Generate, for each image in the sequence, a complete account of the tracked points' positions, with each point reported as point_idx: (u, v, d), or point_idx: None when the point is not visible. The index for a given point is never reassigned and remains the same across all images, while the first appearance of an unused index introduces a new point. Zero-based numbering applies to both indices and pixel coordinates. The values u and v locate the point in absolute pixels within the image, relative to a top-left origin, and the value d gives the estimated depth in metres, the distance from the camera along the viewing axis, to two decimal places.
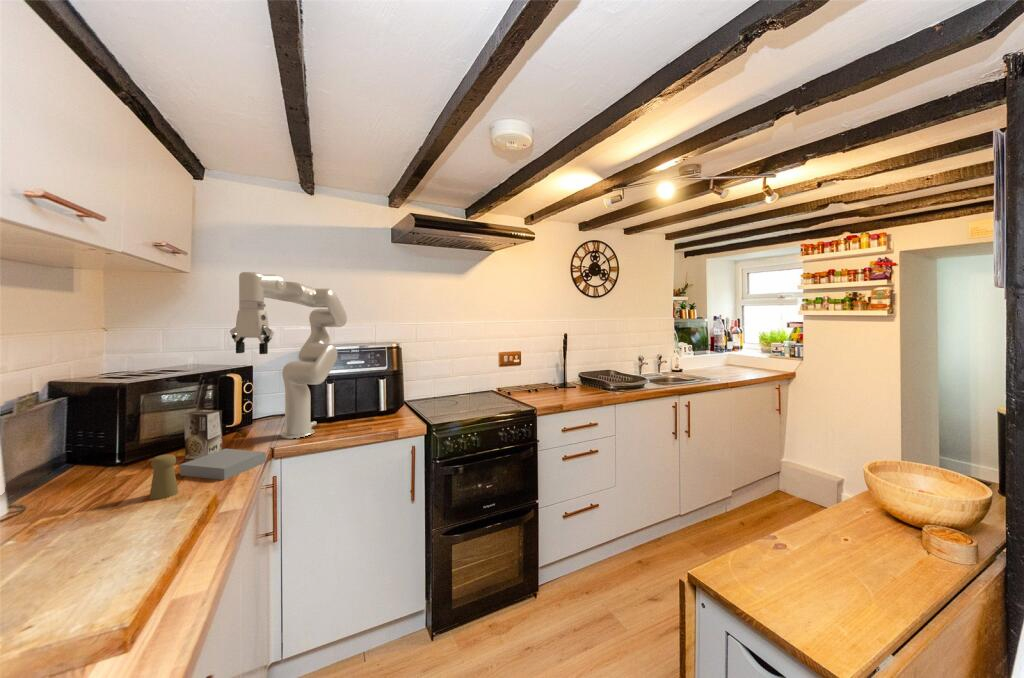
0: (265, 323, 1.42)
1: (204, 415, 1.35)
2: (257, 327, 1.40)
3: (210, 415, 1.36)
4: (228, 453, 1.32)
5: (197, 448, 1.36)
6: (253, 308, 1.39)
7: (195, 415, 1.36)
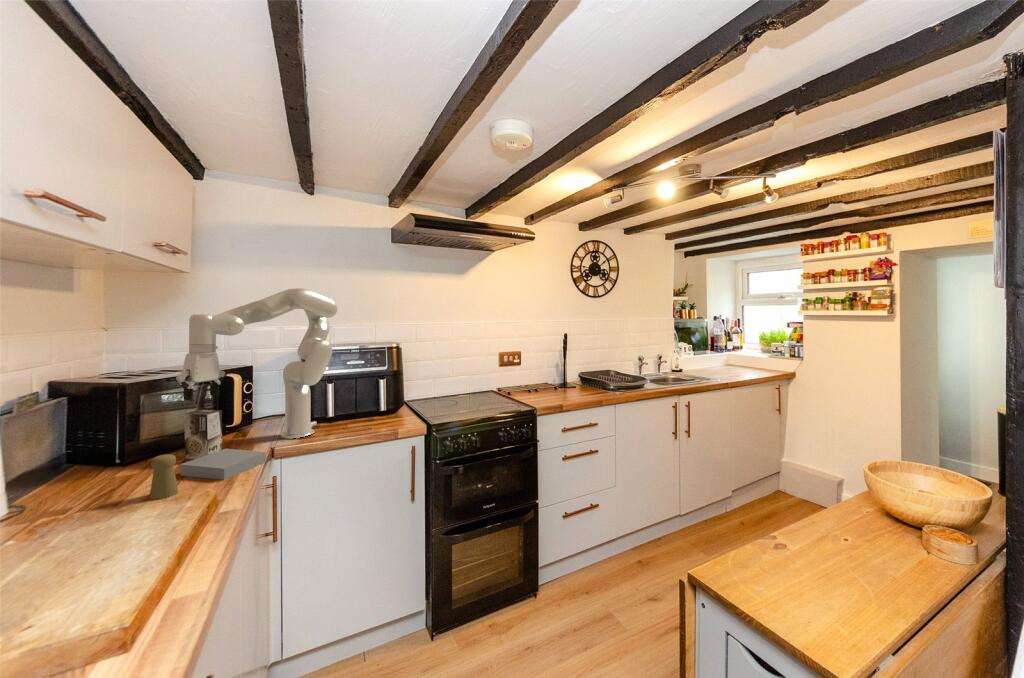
0: None
1: (204, 415, 1.35)
2: (218, 369, 1.42)
3: (210, 415, 1.36)
4: (228, 453, 1.32)
5: (197, 448, 1.36)
6: (215, 351, 1.40)
7: (195, 415, 1.36)
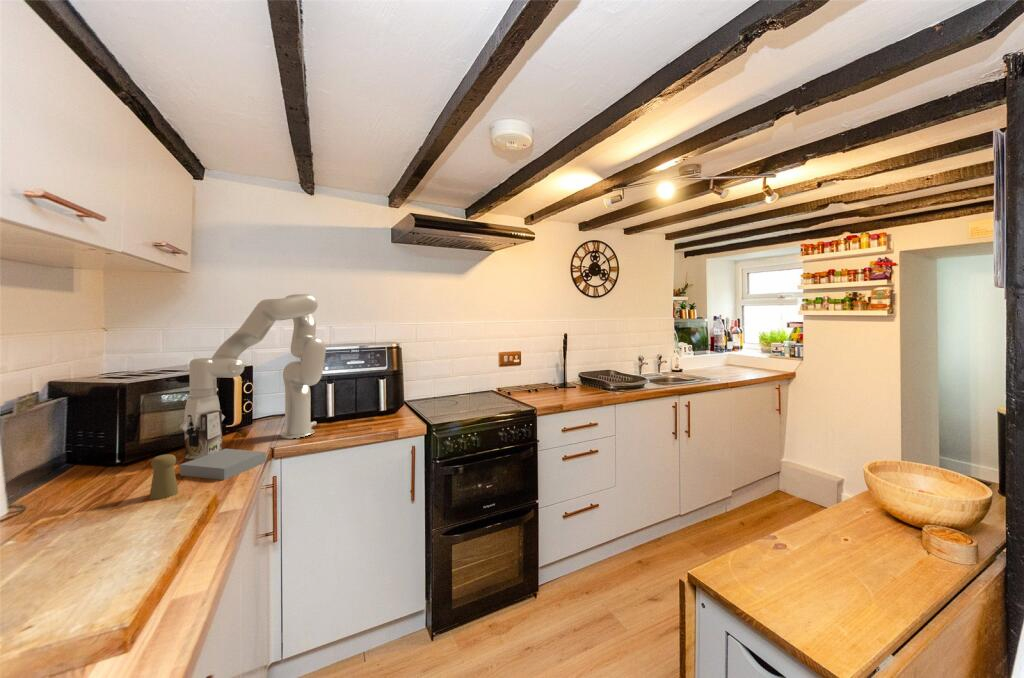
0: None
1: (204, 415, 1.35)
2: None
3: (210, 415, 1.36)
4: (228, 453, 1.32)
5: (197, 448, 1.36)
6: (216, 394, 1.41)
7: None
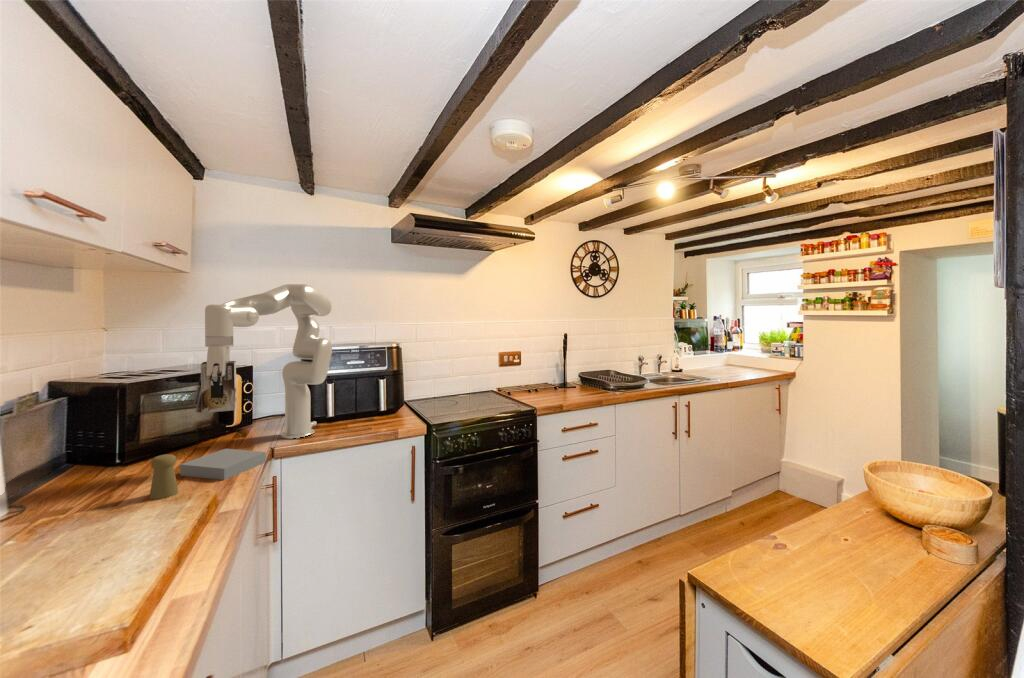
0: None
1: (230, 363, 1.29)
2: None
3: (234, 364, 1.30)
4: (228, 453, 1.32)
5: (221, 399, 1.28)
6: None
7: None
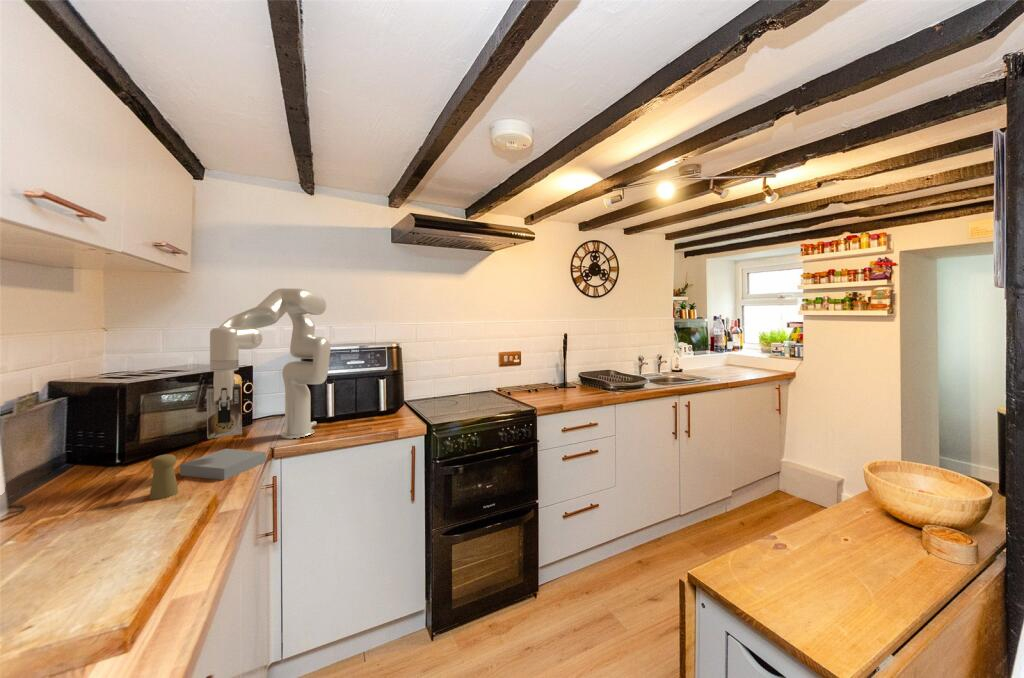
0: None
1: (237, 387, 1.27)
2: None
3: None
4: (228, 453, 1.32)
5: (227, 424, 1.26)
6: None
7: None
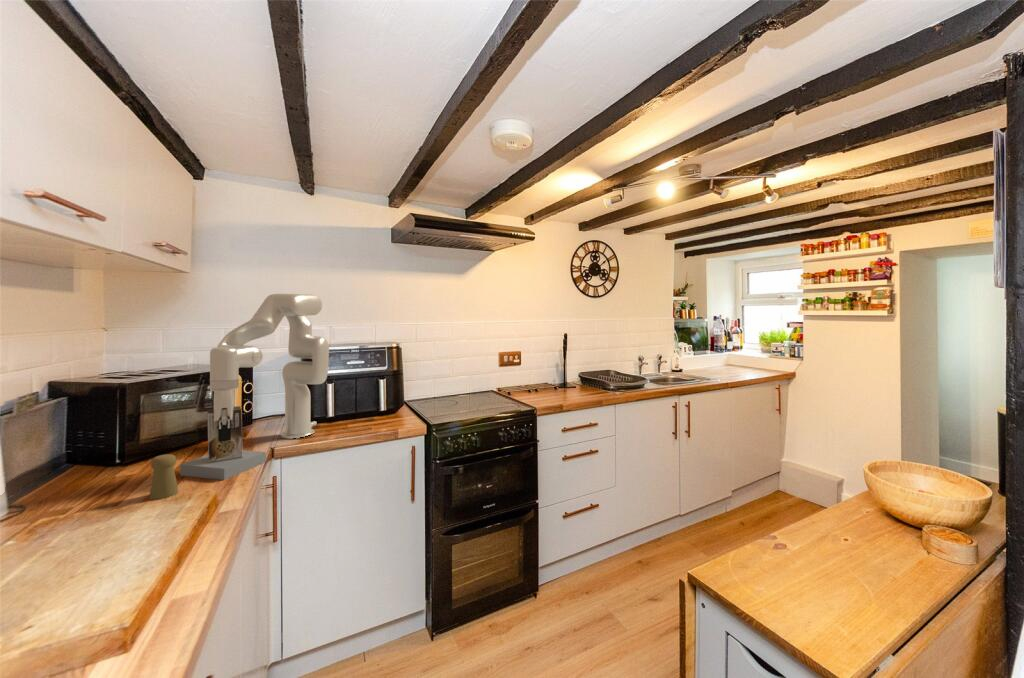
0: None
1: (237, 410, 1.28)
2: None
3: (241, 410, 1.29)
4: None
5: (228, 447, 1.26)
6: None
7: None
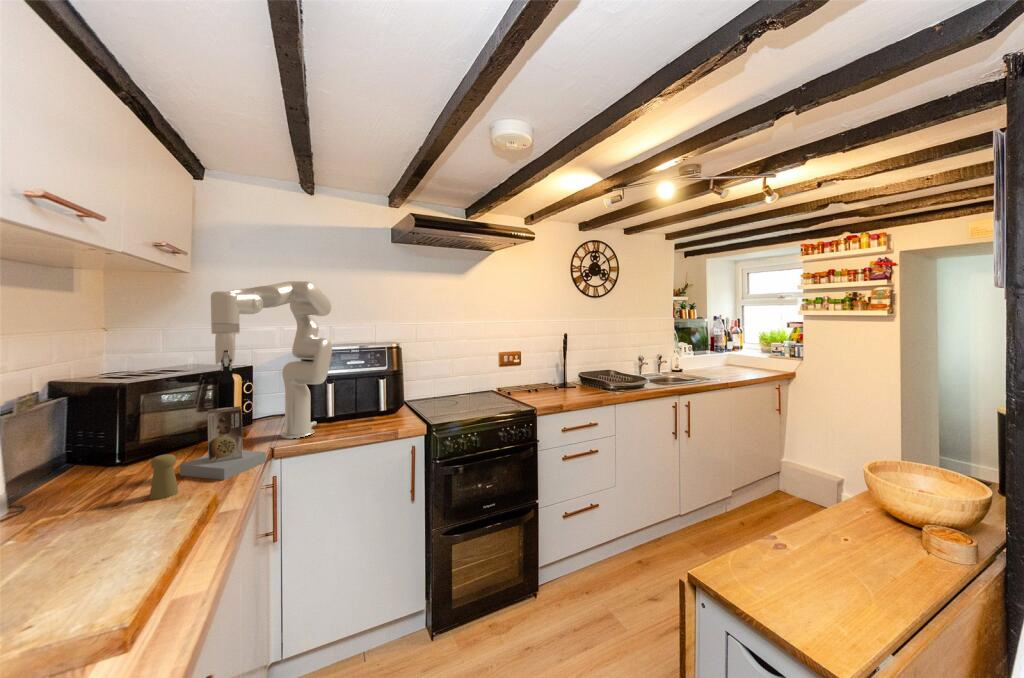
0: None
1: (237, 411, 1.28)
2: None
3: (241, 410, 1.29)
4: None
5: (228, 448, 1.26)
6: None
7: (225, 412, 1.26)
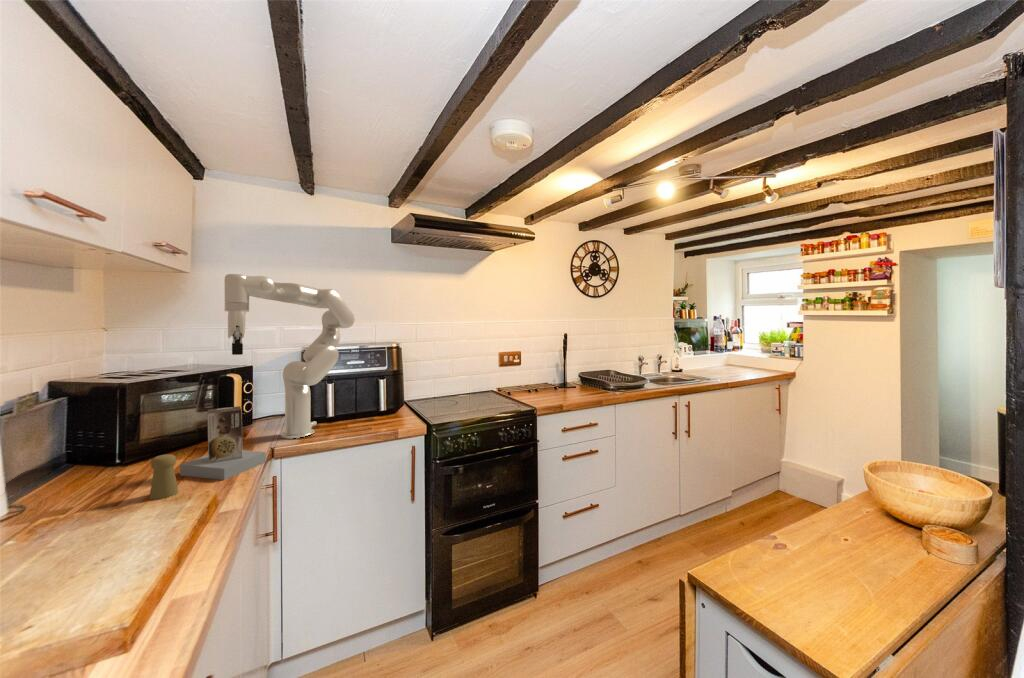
0: None
1: (237, 411, 1.28)
2: None
3: (241, 410, 1.29)
4: None
5: (228, 448, 1.26)
6: None
7: (225, 412, 1.26)
